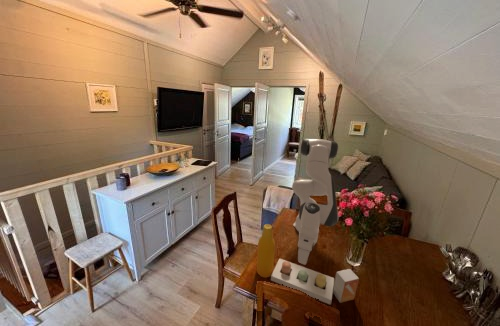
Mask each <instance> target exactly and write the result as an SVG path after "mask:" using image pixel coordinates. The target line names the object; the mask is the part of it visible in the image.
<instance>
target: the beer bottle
mask: <svg viewBox="0 0 500 326" xmlns="http://www.w3.org/2000/svg"><path fill="white" fill-rule="evenodd" d="M275 252H276V243H275V238H274V237H273V226H272V225H271V224H269V223H266V224H264V225H263V229H262V234H261V236H260V238H259V239H258V242H257V255H256V256H257V259H256V272H257V275H259V276H260V277H262V278H264V279H265V278H269V277H270V278H271V275H272V273H273V271H274V268H275V267H274V266H275V265H274V264H275Z"/></svg>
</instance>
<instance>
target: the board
mask: <svg viewBox="0 0 500 326" xmlns="http://www.w3.org/2000/svg"><path fill="white" fill-rule="evenodd" d="M285 261H287V262H289V263H290V264H291V270H290V274H288V275H285V274H283V273H282V263H283V262H285ZM301 270H303V271H306V272H307V274H308V276H307V282H303V281H301V280H298V273H299V271H301ZM318 274H323V273H321V272H319V271H316V270H313V269H310V268H307V267H305V266H303V265H299V264H297V263H293V262H291V261H288V260H285V259H283V258H279V259H278V261H277V262H276V264H275V267H274V268H273V273H272V275H271V276H270V281H272V282H275V283H276V284H279V285H281V286H283V287H286V286H287V287H286V288H288V287H290V288H289V289H291V288H293V289H297V290H300V291H302V292H304V293H306V294H307V295H306V296H308V295H309V296H308V297H311V298H313V299H315V298H316V299H315V300H317V299H319V300H318V301H320V302H323V303H325V304H327V305H330V306H331V305H332V299H333V286H334V281H335V278H334V277H332V276H329V275H328V274H327V275H326V274H325V273H324V274H323V275H324V276H325V277H326V284H325V287H324V288H325V289H324V288H319V287H317V286H316V277H317V275H318ZM282 284H283V285H282ZM293 289H292V290H293Z"/></svg>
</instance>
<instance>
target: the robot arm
mask: <svg viewBox="0 0 500 326" xmlns="http://www.w3.org/2000/svg"><path fill="white" fill-rule="evenodd" d="M299 151H300V154H301V155H303V156H305V157H306V162H305V164H306V165H305V173H306V175H307V176H308V177H310V179H308V178H307V179H305V178H301V179H296V180H294V181H293V182H292V185H291V188H292V189H291V190H292V191H293V193H294V194H295V195H296V196H297V197H298V198H299V201H300V205H299V211H298V215H297V216H296V218H295V222H294V223H293V224H292V226H293V227H294V228H295V229H296V231H297V232H298V241H297V247H298V249H297V250H298V251H297V261H298V264H299V263H300V264H302V265H304V266H305V265H307V263H308V259H309V255H310V252H311V251H312V250H313V249H314V246H315V245H316V244H317V242H318V237H319V233H320V229H319V227H320V226H321V225H324V226H326V227H329V228H330V227H333V226H335V225H337V224H338V221H339V212H338V206H337V195H336V193H337V192H336V185H335V184H336V183H335V178H334V176H333V175H332V174H331V173H330V171H329V159H334V158H336V157H337V155H338V153H339V144H338V142H337V141H334V140H328V139H321V138H319V139H318V138H308V137H307V138H303V139H302V140H301V142H300V144H299ZM310 196H311V197H312V196H313V197H315V196H317V197H318V196H319V197H321V196H326V198H327V204H321V203H317V201H316V200H315V199H313V198H311V197H310Z"/></svg>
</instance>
